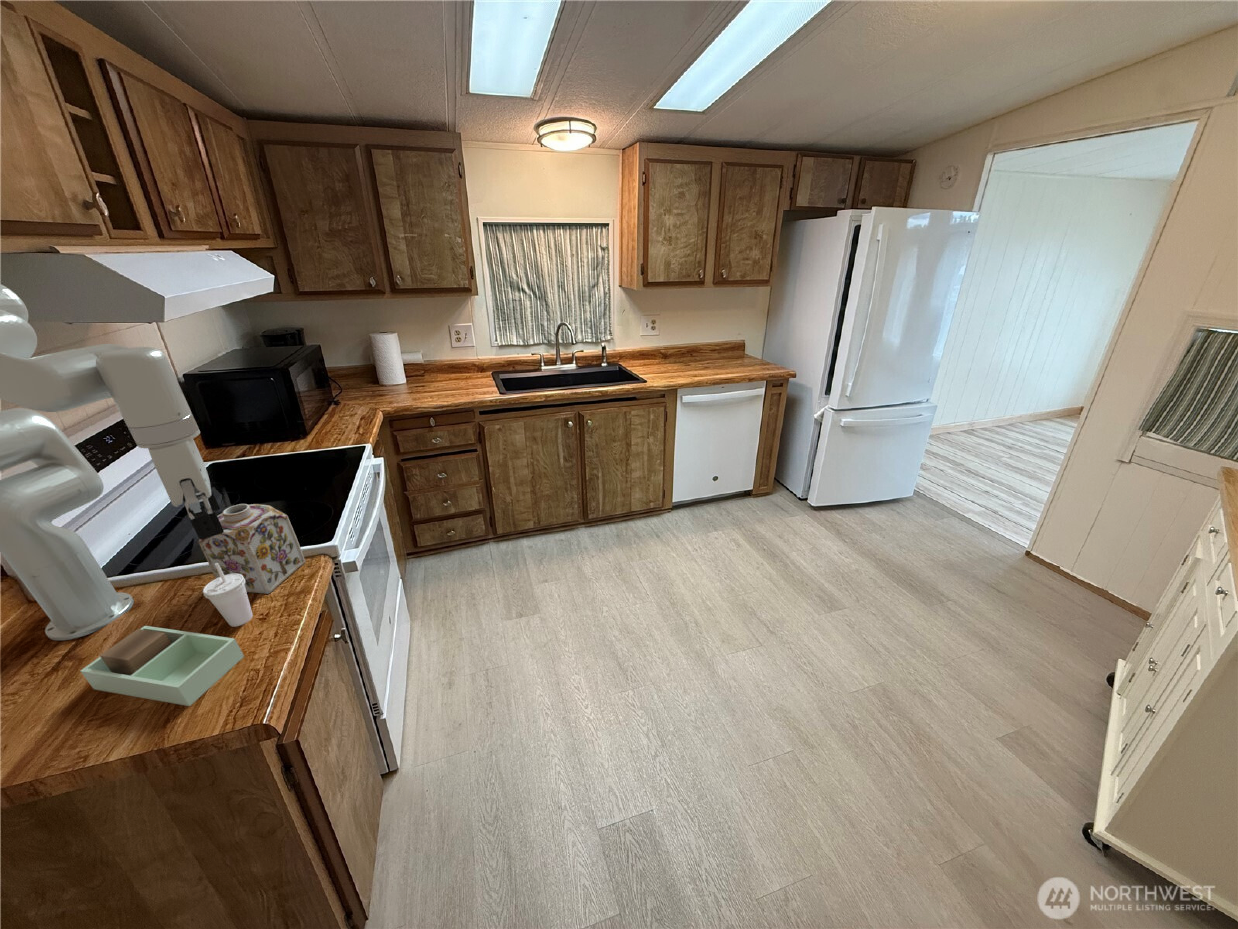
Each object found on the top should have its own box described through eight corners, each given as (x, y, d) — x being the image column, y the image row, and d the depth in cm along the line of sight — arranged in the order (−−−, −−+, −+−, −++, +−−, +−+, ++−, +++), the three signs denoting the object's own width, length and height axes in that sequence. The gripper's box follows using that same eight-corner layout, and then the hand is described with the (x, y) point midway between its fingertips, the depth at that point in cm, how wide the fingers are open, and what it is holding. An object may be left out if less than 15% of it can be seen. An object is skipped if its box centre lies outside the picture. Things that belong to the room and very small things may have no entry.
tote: (95, 691, 81) (80, 670, 79) (157, 645, 90) (144, 625, 88) (191, 708, 78) (177, 687, 76) (245, 658, 87) (234, 638, 85)
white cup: (268, 609, 98) (243, 554, 92) (247, 633, 93) (219, 576, 86) (236, 610, 98) (209, 555, 92) (214, 634, 92) (183, 577, 86)
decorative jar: (220, 592, 104) (185, 522, 96) (263, 559, 114) (234, 493, 106) (270, 595, 102) (238, 525, 94) (308, 562, 112) (282, 496, 105)
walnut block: (117, 680, 83) (99, 655, 80) (153, 653, 88) (137, 629, 85) (145, 685, 82) (128, 660, 79) (179, 657, 87) (165, 633, 84)
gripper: (136, 421, 77) (182, 511, 85) (129, 454, 65) (183, 555, 73) (195, 410, 82) (233, 496, 89) (198, 439, 70) (242, 536, 77)
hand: (210, 523), depth 81 cm, fingers open, 9 cm apart
